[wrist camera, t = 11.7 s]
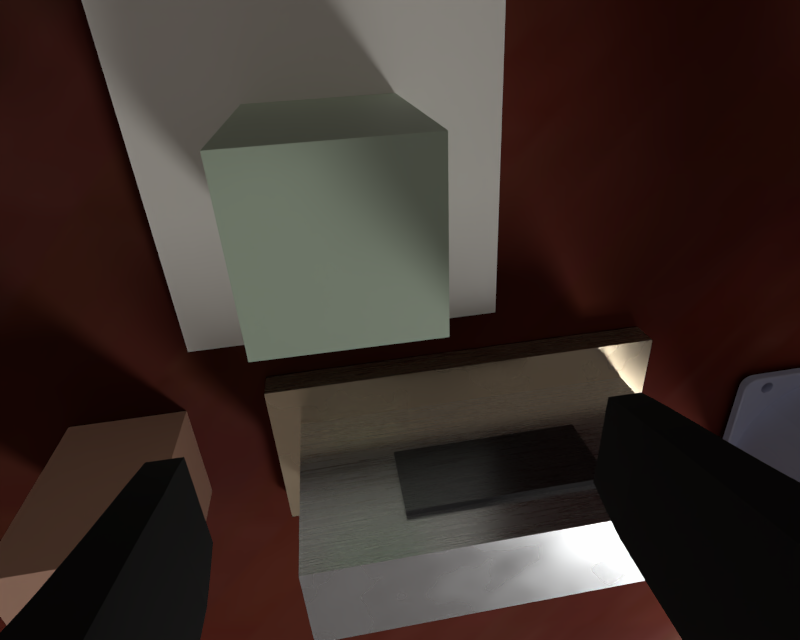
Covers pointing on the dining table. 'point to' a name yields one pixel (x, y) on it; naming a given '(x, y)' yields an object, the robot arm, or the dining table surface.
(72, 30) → the dining table surface
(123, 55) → the pad
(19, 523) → the terracotta block
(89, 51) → the dining table surface
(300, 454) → the grey unit
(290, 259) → the sage block
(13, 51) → the dining table surface
